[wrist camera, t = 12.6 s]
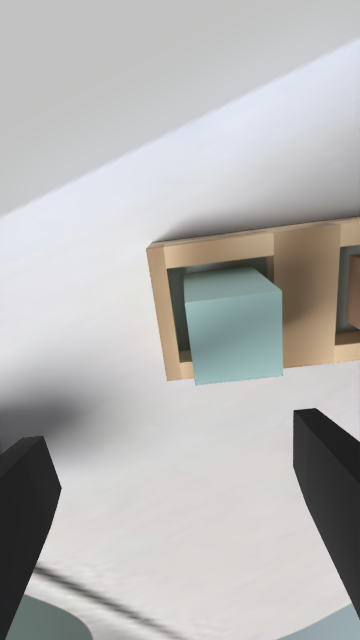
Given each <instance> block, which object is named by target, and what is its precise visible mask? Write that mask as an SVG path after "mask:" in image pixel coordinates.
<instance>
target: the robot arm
mask: <svg viewBox="0 0 360 640" xmlns="http://www.w3.org/2000/svg"><path fill="white" fill-rule="evenodd" d="M293 467H294V470H295V473H296V476H297V479H298V482H299V485H300V488H301V491H302V494H303V497H304V499H305V502H306V505H307V507H308V509H309V511H310V514H311V516H312V518H313V520H314V522H315V524H316V527H317V529H318V531H319V533H320V535H321V537H322V539H323V542H324V544H325V546H326V548H327V550H328V552H329V554H330V556H331V559H332V561H333V563H334V565H335V567H336V569H337V571H338V573H339V576H340V578H341V580H342V582H343V584H344V586H345V588H346V590H347V592H348V595H349V597H350V599H351V601H352V603H353V605H354V608H355V610H356V612H357V614H358V617H359V619H360V442H359V441H358V440H357V439H355V438H354V437H353V436H351V435H350V434H349V433H347V432H346V431H345V430H344V429H342V428H341V427H340V426H338V425H337V424H336V423H335V422H333V421H332V420H331V419H329V418H328V417H327V416H325V415H324V414H323V413H322V412H320V411H319V410H318V409H316V408H312V409H302V410H294V415H293ZM61 489H62V488H61V485H60V482H59V479H58V476H57V474H56V471H55V468H54V465H53V462H52V459H51V456H50V454H49V451H48V448H47V445H46V442H45V439H44V436H37V437H27V438H22V439H21V440H20V441H18V442H17V443H15V444H14V445H13V446H12V447H10V448H9V449H8V450H7V451H5V452H4V453H3V454H2V455H0V640H5V639H6V636H7V633H8V631H9V628H10V626H11V623H12V621H13V618H14V616H15V613H16V611H17V609H18V606H19V604H20V601H21V599H22V597H23V594H24V592H25V589H26V587H27V585H28V582H29V580H30V577H31V575H32V572H33V570H34V568H35V565H36V563H37V560H38V558H39V555H40V553H41V550H42V548H43V545H44V543H45V540H46V538H47V535H48V533H49V530H50V528H51V525H52V521H53V518H54V514H55V511H56V508H57V504H58V500H59V496H60V493H61Z"/></svg>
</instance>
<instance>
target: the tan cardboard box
mask: <svg viewBox="0 0 360 640" xmlns="http://www.w3.org/2000/svg"><path fill="white" fill-rule="evenodd" d="M345 320H346V321H347V322H349V323H350V324H352V325H353V326H355V327H356V328H358V329H359V330H360V255H352V256H350V260H349V275H348V290H347V305H346V319H345Z"/></svg>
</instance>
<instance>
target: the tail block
mask: <svg viewBox="0 0 360 640" xmlns="http://www.w3.org/2000/svg"><path fill="white" fill-rule="evenodd" d="M183 276H184V300H185V310H186V317H187V325H188V333H189V340H190V348H191V356H192V363H193V371H194V379H195V385H204V384H213V383H222V382H231V381H240V380H249V379H258V378H267V377H276V376H283V336H282V290H280V289H279V288H278V287H277V286H275V285H274V284H273V283H272V282H270V281H269V280H268V279H267V278H265V277H264V276H263V275H262V274H260V273H259V272H258V271H257V270H255V269H254V268H253V267H252V266H247V267H240V268H232V269H224V270H216V271H208V272H201V273H193V274H185V275H183Z"/></svg>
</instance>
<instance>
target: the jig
mask: <svg viewBox="0 0 360 640" xmlns="http://www.w3.org/2000/svg"><path fill="white" fill-rule="evenodd" d="M146 252H147V258H148V264H149V271H150V277H151V283H152V289H153V295H154V302H155V308H156V314H157V320H158V327H159V333H160V339H161V345H162V351H163V358H164V364H165V370H166V376H167V381H172V380H181V379H191V378H194V371H193V363H192V356H191V348H190V340H189V333H188V325H187V317H186V310H185V300H184V276H183V275H185V274H193V273H201V272H208V271H216V270H224V269H232V268H240V267H247V266H252V267H253V268H254V269H255V270H257V271H258V272H259V273H260V274H262V275H263V276H264V277H265V278H267V279H268V280H269V281H270V282H272V283H273V284H274V285H275V286H277V287H278V288H279V289H280V290H282V336H283V368H292V367H302V366H311V365H320V364H330V363H339V362H348V361H357V360H360V330H359V329H358V328H356V327H355V326H353V325H352V324H350V323H349V322H347V321H346V320H345V319H346V305H347V290H348V275H349V260H350V256H352V255H360V216H357V217H349V218H342V219H334V220H326V221H318V222H311V223H303V224H295V225H287V226H280V227H272V228H264V229H256V230H249V231H241V232H233V233H225V234H218V235H210V236H202V237H195V238H187V239H179V240H171V241H164V242H156V243H151V244H150V245H149V246H148V248H147V249H146Z"/></svg>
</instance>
